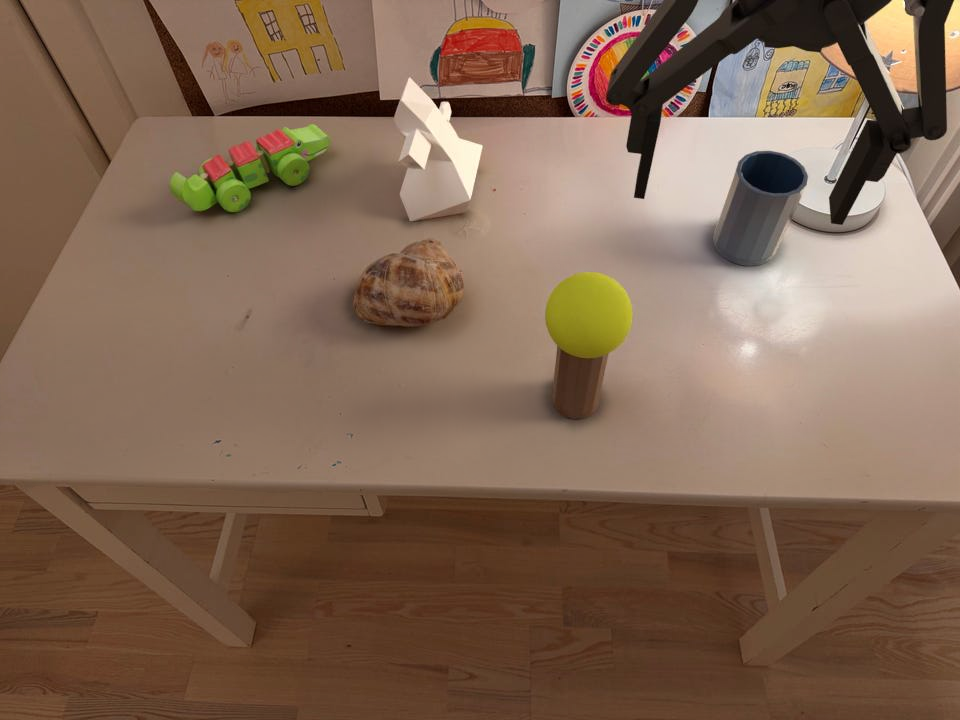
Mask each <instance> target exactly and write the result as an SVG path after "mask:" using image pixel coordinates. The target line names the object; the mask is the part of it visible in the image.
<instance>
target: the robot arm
mask: <svg viewBox="0 0 960 720" xmlns="http://www.w3.org/2000/svg"><path fill="white" fill-rule="evenodd" d="M892 1H893V0H734V1H733V2H731V3H730V4H729V5H728V6H726V8H725V9H724V10H722V12H721V15H719V17H718V18H717V19H715V20H714V21H713V22H712V23H710V24H709V25H708V26H706V27H705V28H704V29H703V30H702V31H701V32H699V33H698V34H697V35H695V36H694V37H693V38H692V39H690V41H688V42H686V44H684V45H683V46H682V47H681V48H680V49H678V50H677V51H675V52H674V53H673V54H671V56H669V57H668V58H667V59H666V60H665V61H663V62H662V63H661V64H660V65H658V66H657V67H656V68H654V69H653V70H652V71H651V72H650V73H648V74H647V72H648V71H649V70H650V69H651V67H652V66H653V65H654V63H655V62H656V61H657V59H659V57H660V55H662V53H663V52H664V51H665V49H666V48H667V46H668V45H669V44H670V43H671V41H672V40H673V39H674V38H675V36H676V35H677V34H678V33H679V31H680V30H681V29H682V27H684V25H685V24H686V23H687V21H688V20H689V18H690V17H691V16H692V14H693V12H694V10H695V9H696V8H697V5H698V3H699V0H662V2H661V3H660V4H659V5H658V7H657V8H656V10H655V12H654V13H653V14H652V16H651V17H650V18H649V20H648V21H647V22H646V23H645V25H644V26H643V28H642V29H641V31H640V32H639V34H638V35H637V36H636V38H635V39H634V40H633V42H632V43H631V45H629V47H628V49H627V50H626V51H625V53H624V54H623V55H622V57H621V58H620V59H619V61H618V63H616V65H615V66H614V68H613V69H612V70H611V73H610V74H609V75H610V76H609V80H608V84H607V90H606V95H605V99H606V102H607V103H608V105H611V106H613V107H615V106H616V107H617V106H620V105H621V106H624V107H625V108H627V109H628V110H629V112H630V122H629V127H628V132H627V133H628V134H627V139H626V145H625V146H626V150H627V153H630V154H637V155H640V158H639V162H638V169H637V173H636V179H635V185H634V194H633V199H641V200H645V197H646V192H647V187H648V183H649V178H650V175H651V174H650V173H651V170H652V164H653V159H654V156H655V150H656V145H657V141H658V136H659V132H660V131H659V130H660V126H661V121H662V115H663V106H664V105H665V103H667V102H669V101H670V100H671V99H673V97H675V96H676V95H678V94H679V93H680V92H681V91H683V90H684V89H686V88H687V87H689V85H691V84H692V83H694V82H696V80H698V79H699V78H700V77H702V76H703V75H704V74H706V73H707V72H708V71H710V70H711V69H712V68H714V67H715V66H717V65H718V64H719V63H720V62H721V61H723V60H724V59H726V58H727V57H729V56H730V55H736V54H738V53H740V52H741V51H742V50H744V49H745V48H746V47H748V46H749V45H751V44H752V43H754V42H755V41H756V40H758V41H759V42H761V43H763V47H764V48H769V49H770V48H771V49H783V48H791V47H794V48H797V49H799V50H803V51H804V52H810V53H822V50H823V49H826V48H829V47H832V46H834V45H836V44H837V45H838V47H839V49H840V51H841V53H842V55H843V57H844V60H845V61H846V63H847V65H848V66H849V67H850V69H851V70H852V72H853V74H854V77H855V79H856V81H857V82H858V85H859V87H860V89H861V91H862V93H863V95H864V97H865V99H866V101H867V103H868V105H869V107H870V109H871V112H872V113H873V115H874V118H875V120H874V119H867V120H866V121H865V123H864V125H863V128H862V129H861V131H860V134H859V136H858V138H857V139H856V141H855V144H854V146H853V148H852V150H851V152H850V154H849V155H848V157H847V160H846V162H845V164H844V166H843V168H842V170H841V172H840V174H839V176H838V178H837V180H836V182H835V185H834V186H833V188H832V191H831V192H830V194H829V196H828V201H829V202H828V204H829V214H830V215H829V217H830V224H831V225H840V226H843V225H844V223H845V221H846V219H847V217H848V216H849V214H850V212H851V210H852V208H853V206H854V204H855V203H856V201H857V199H858V197H859V196H860V193H861V191H862V189H863V187H864V186H865V184H866V182H871V183H878V182H879V181H881V180H882V179H883V178H884V177H885V176H886V174H887V171H888V170H889V169H890V167H891V165H892V163H893V161H894V159H895V158H896V155H899V154H902V153H905V152H907V151H908V150H909V149H910V148H911V146H912V139H916V138H924V139H925V140H927V141H937V140H940V139H941V138H943V137H944V136H945V135H946V134H947V131H948V113H947V112H948V110H947V109H948V107H947V68H946V28H945V27H946V26H945V24H946V22H947V20H948V17H949V15H950V12H951V9H952V7H953V4H954V1H955V0H902V3H903V8H904V12H905V13H906V15H908V16H910V17H912V22H913V40H914V43H913V44H914V60H915V62H914V63H915V76H916V77H915V78H916V95H917V106H914V107H907V108H905V107H904V105H903V103H902V101H901V98H900V96H899V93H898V91H897V90H896V86H895V85H894V83H893V81H892V78H891V76H890V74H889V72H888V69H887V67H886V65H885V63H884V61H883V58H882V56H881V54H880V52H879V50H878V47H877V45H876V43H875V41H874V38H873V37H872V34H871V32H870V28H869V26H868V22H867V21H868V20H870V19H871V18H872V17H873V16H875V15H876V14H877V13H879V12H880V11H881V10H883V9H884V8H885V7H886V6H888V5H889V4H890V3H891V2H892ZM646 74H647V75H646ZM645 75H646V76H645Z"/></svg>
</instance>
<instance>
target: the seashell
mask: <svg viewBox="0 0 960 720" xmlns="http://www.w3.org/2000/svg"><path fill="white" fill-rule="evenodd" d="M441 243H442V242H441V241H439V240H438V239H436V238H434V237H428V238H426V239H425V238H424V239H422V240H421V241H416V242H412V243H410V244H408V245H406V246H405V247H404V248H403V249H402V250H401V251H400V252H397V253H395V252H394V253H390V254H387V255H384V256H381V257H379V258H378V259H376V260H374V261H373V262H371V263H370V264H369V265H367V266H366V267H365V268H364V269H363V271H362V273H361V274H360V276H359V278H358V280H357V282H356V284H355V291H354V297H353V301H352V303H353V309H354V312H355V313H356V315H357V317H359V318H360V319H362V320H363V322H365V323H367V324H368V323H369V324H374V325H378V326H402V327H410V328H411V327H421V326H429V325H432V324H434V323H435V324H436V323H437V322H439V321H441V320H444V319H446V318H447V317H448V316H449V315H450V314H451V313H452V312H453V311H454V310H455V309H456V307H457V306H458V305H459V303H460V302H461V300H462V298H463V295H464V289H465V286H464V280H463V276H462V274H461V272H460V270H459V268H458V266H457V264H456V263H455V261H454V260H453V259H452V257H451V256H450V254H449V251H448V250H447V249H446V248H445V246H443V244H441Z"/></svg>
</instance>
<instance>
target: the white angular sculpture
mask: <svg viewBox="0 0 960 720" xmlns="http://www.w3.org/2000/svg"><path fill="white" fill-rule="evenodd" d="M451 116H452V109H451V105H450V103H449V101H441V102H440V105H439V108H438V106H437V105H436V103H435V102H434V101H433V99H432V98H430V97H429V95H428V94H427V93H426V92H425V91H424V90H423V89H422V88H421V87H420V86H419V85H418V84H417V83H416V82H415V81H414V80H413V79H412V78H411V77H410V76H408V79H407V81H406V83H405V86H404V88H403V91H402V93H401V96H400V100H399V102H398V105H397V107H396V111H395V113H394V116H393V123H394V125H395V127H396V129H398V131H399V132H400V133H401V135H402V136H403V138H404V143H403V146H402V149H401V152H400V155H399V158H398V161H397V163H399V164H401V165H402V166H404V167H406V168H407V170H406V172H405V174H404V179H403V181H402V185H401V189H400V191H399V197H400V199H401V202H402V204H403V206H404V209H405V212H406V215H407V218H408V219H409V222H416V221H423V220H429V219H435V218H441V217H447V216H453V215H460V214H464V213H466V212H467V209H468V206H469V205H470V202H471V198H472V195H473V191H474V186H475V181H476V177H477V173H478V170H479V164H480V160H481V155H482V152H483V147H484V145H482V144H480V143H476V142H474V141H473V142H472V141H470V140H467V139H463V138H461V137H459V136H458V134H457V132H456V130H455V129H454V127H453V125H452V124H451V122H450V120H451Z"/></svg>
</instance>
